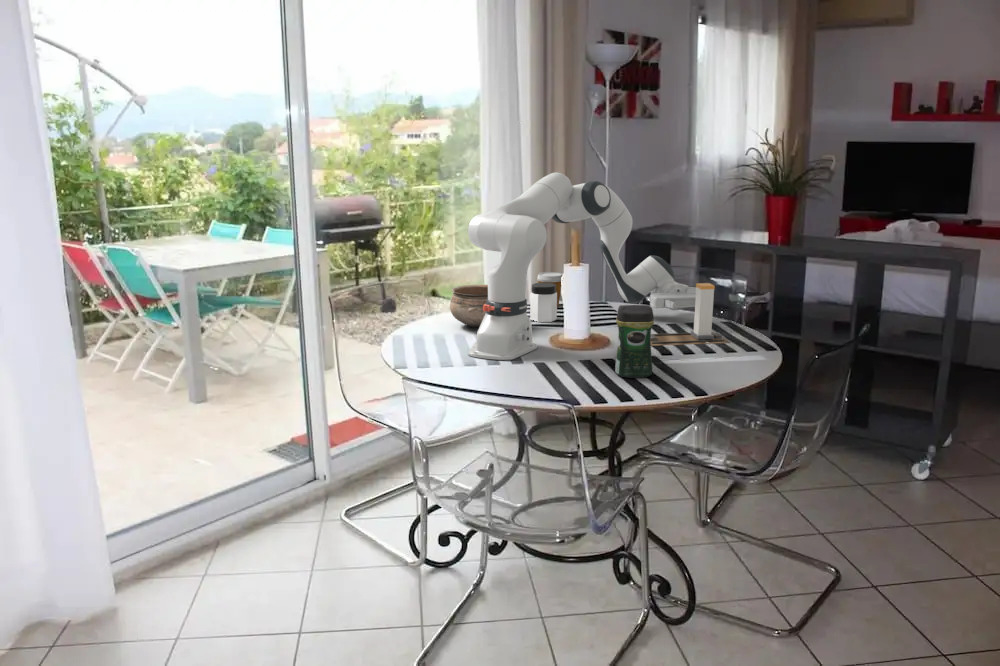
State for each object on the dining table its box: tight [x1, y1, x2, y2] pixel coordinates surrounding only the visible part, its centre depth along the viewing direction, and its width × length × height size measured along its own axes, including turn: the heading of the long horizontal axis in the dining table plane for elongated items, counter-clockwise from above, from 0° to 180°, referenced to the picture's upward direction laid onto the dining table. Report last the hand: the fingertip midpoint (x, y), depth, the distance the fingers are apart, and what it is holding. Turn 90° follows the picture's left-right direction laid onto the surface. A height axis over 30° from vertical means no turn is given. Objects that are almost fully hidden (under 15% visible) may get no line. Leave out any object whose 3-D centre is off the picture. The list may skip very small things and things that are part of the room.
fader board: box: [651, 331, 732, 347], centre depth 242 cm, size 26×13×2 cm, turn 97°
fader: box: [690, 282, 716, 339], centre depth 241 cm, size 5×6×16 cm
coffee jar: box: [614, 304, 655, 379], centre depth 209 cm, size 10×8×19 cm
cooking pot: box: [449, 284, 488, 330], centre depth 262 cm, size 25×19×12 cm
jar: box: [529, 282, 558, 323], centre depth 270 cm, size 9×8×12 cm
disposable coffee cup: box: [536, 271, 563, 308], centre depth 290 cm, size 10×10×12 cm
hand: (689, 305), depth 253 cm, fingers open, 8 cm apart
